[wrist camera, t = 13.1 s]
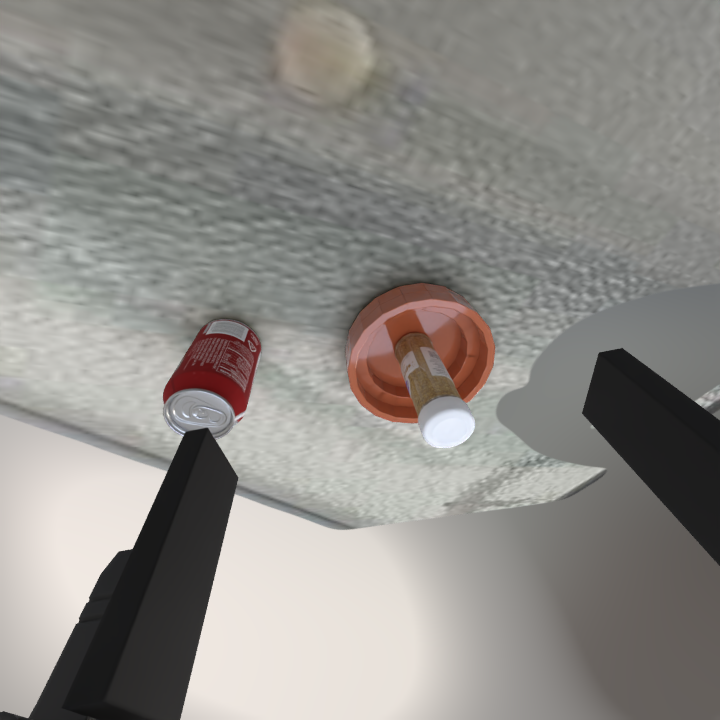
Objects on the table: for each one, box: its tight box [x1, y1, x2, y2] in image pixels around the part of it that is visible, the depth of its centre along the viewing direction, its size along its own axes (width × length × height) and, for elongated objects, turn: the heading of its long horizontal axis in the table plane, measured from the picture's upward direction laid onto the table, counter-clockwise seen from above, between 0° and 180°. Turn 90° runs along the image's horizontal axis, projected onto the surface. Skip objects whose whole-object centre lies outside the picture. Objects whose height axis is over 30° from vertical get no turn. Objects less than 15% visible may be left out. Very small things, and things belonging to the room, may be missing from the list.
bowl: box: [345, 283, 495, 423], centre depth 38 cm, size 16×16×5 cm
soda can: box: [163, 319, 261, 440], centre depth 33 cm, size 7×7×12 cm
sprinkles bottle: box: [395, 333, 475, 448], centre depth 34 cm, size 5×5×13 cm
